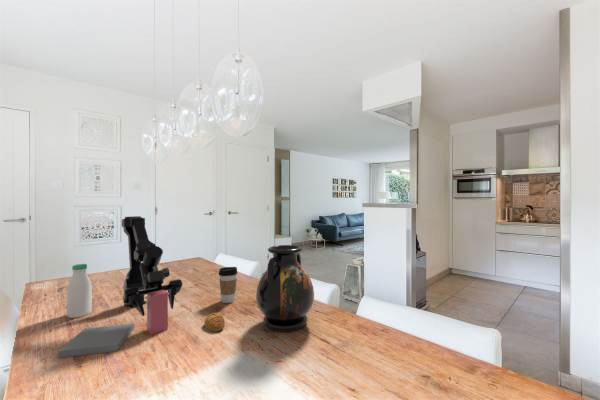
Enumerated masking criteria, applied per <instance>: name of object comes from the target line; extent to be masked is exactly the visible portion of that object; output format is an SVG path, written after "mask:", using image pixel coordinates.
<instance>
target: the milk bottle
mask: <svg viewBox="0 0 600 400" xmlns="http://www.w3.org/2000/svg"><path fill="white" fill-rule="evenodd" d="M87 267H88V264H87V263H79V264H74V265H72V275H71V278H70V280H69V281H68V284H67V289H66V291H67V293H66V316H67V318H71V319H74V318H76V319H77V318H82V317H84V316H87V315H90V314H91V313H92V305H93V304H92V300H93V299H92V291H93V290H92V281H91V279H90V277H89V275H88V273H87V269H88V268H87Z"/></svg>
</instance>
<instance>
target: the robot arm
mask: <svg viewBox="0 0 600 400" xmlns="http://www.w3.org/2000/svg"><path fill="white" fill-rule="evenodd" d="M121 228H122V229H123V232H124V233H125V235H126V236H127V240H128V259H129V270H128V272H127V273H126V275H125V279H124V283H123V286H122V288H123V294H122V302H123V306H125V307H130V308H135V309H136V310H137V311H138V312H139V313H140V315H141V316H142V317H145V309H144V306H143V305H144V304H147V300H145V295H146V296H147V293H150V292H155V291H160V290H165V291H166V292H168V302H169V307H170V309H171V310H173V309H174V306H175V305H174V303H175V297H176V295H177V294H178V293H180V291H181V288H182V286H183V281H182V280H181V279H180V278H177V279H172V280H169V282H168V284H166V285H163V284H164V280H165V279H166V278H168V277H170V274H171V273H170V270H169V267H163V268H162V269H161V270H159V268H158V266H159V264H160V262H161V259H162V255H163V254H164V250H163V248H161V247H160V246H159V245H158V246H157V245H156V243H154V242H152V241H151V240H150V239H149V236H148V231H147V229H146V218H145V217H141V216H140V215H138V216H136V215H135V216H124V218H122V219H121Z"/></svg>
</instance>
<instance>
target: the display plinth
mask: <svg viewBox="0 0 600 400" xmlns="http://www.w3.org/2000/svg"><path fill="white" fill-rule="evenodd" d="M134 330H135V323H126V324H114V325H106V326H105V325H104V326H93V327H87V328H84V329H82V331H79V332H78V333H77V334H76V335H75V337H73V338H72V339H71V340H69V342H67V343H66V344H65V345H64V346H63V347H62V348H60V349H59V350H58V359H61V358H62V359H63V358H71V357H78V356H86V355H87V356H88V355H94V354H95V355H96V354H102V353H103V354H104V353H111V352H118V351H119V350H120V348H121V347H122V345H124V343H125V342H126V341H127V339H128V338H129V336H130V335H131V333H132V332H133V331H134Z"/></svg>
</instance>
